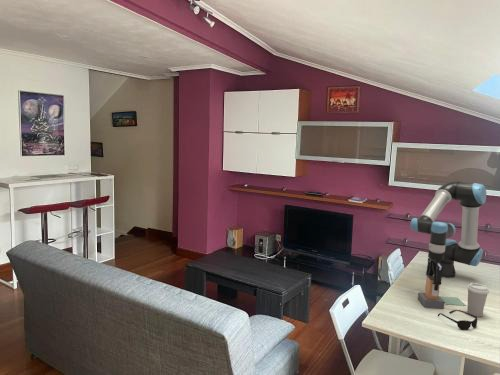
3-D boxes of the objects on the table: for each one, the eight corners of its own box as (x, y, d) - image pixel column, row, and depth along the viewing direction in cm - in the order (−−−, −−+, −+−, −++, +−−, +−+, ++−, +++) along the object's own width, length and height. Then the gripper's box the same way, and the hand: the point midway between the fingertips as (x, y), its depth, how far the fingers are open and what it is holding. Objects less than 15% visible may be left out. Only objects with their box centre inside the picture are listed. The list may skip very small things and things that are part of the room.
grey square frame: (417, 299, 207) (418, 292, 206) (436, 300, 206) (436, 293, 206) (424, 307, 197) (425, 300, 196) (443, 309, 196) (444, 301, 196)
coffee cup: (482, 311, 195) (486, 284, 193) (487, 319, 186) (491, 291, 184) (462, 308, 198) (465, 281, 196) (466, 316, 189) (469, 288, 187)
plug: (423, 301, 204) (426, 275, 202) (433, 302, 204) (436, 276, 202) (427, 305, 199) (430, 278, 197) (437, 306, 199) (440, 279, 197)
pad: (439, 296, 212) (439, 296, 212) (457, 297, 211) (457, 297, 211) (446, 304, 202) (446, 303, 202) (466, 305, 201) (466, 305, 201)
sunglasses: (461, 332, 173) (462, 322, 173) (433, 316, 188) (434, 307, 187) (481, 327, 179) (482, 317, 178) (452, 312, 193) (453, 303, 192)
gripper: (422, 245, 207) (417, 285, 210) (436, 256, 188) (431, 300, 191) (436, 246, 207) (431, 286, 210) (452, 257, 187) (446, 301, 191)
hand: (431, 292), depth 201 cm, fingers open, 6 cm apart
